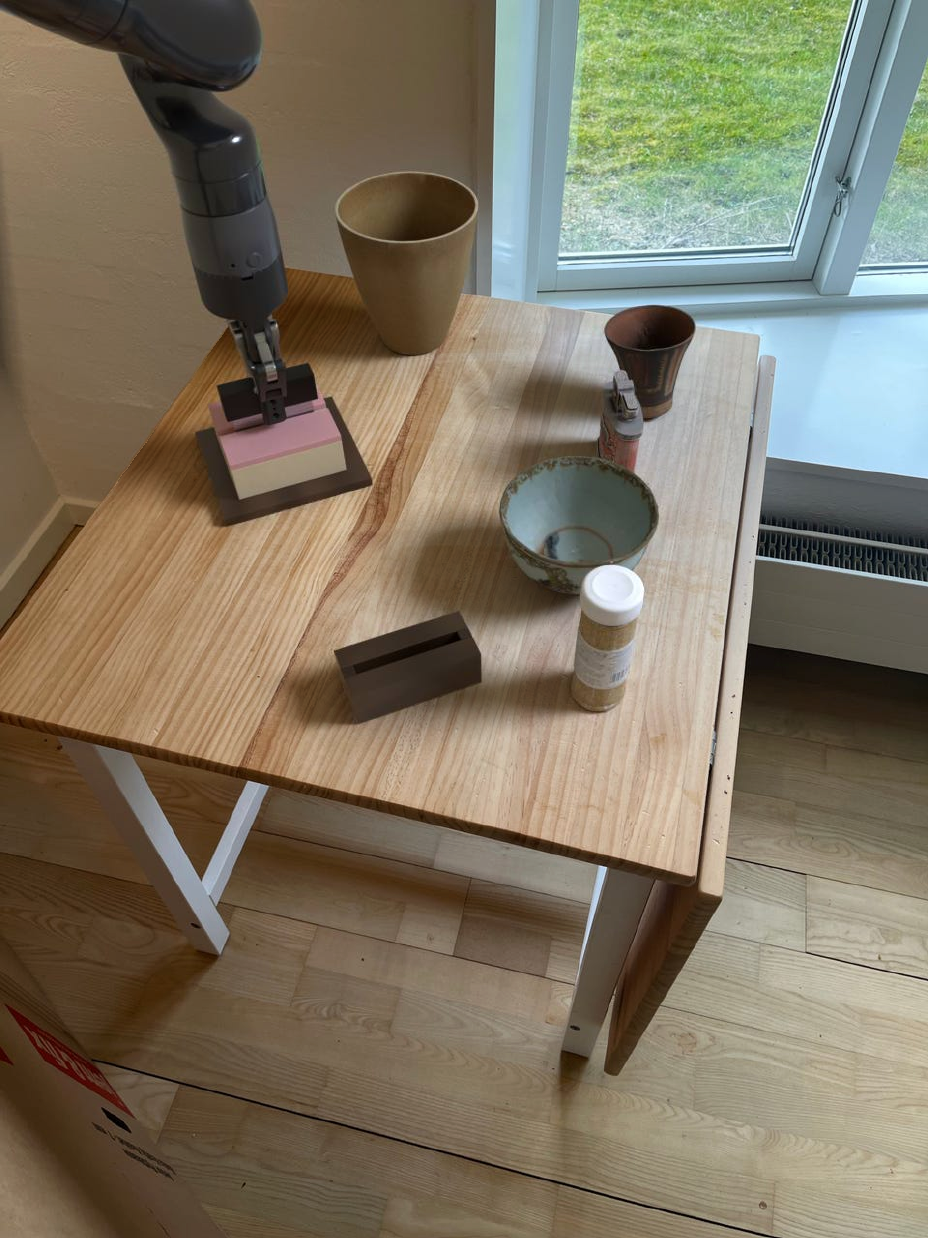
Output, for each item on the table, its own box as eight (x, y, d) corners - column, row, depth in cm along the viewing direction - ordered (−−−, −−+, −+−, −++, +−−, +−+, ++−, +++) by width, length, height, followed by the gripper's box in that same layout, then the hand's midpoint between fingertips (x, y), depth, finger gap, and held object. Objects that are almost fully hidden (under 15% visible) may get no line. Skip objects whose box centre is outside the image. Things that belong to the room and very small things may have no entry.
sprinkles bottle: (606, 661, 81) (623, 554, 70) (635, 701, 78) (657, 596, 68) (559, 681, 80) (569, 575, 69) (587, 722, 77) (602, 618, 66)
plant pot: (453, 386, 105) (447, 252, 92) (331, 360, 108) (309, 227, 96) (497, 312, 113) (497, 180, 101) (382, 290, 117) (369, 160, 104)
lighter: (590, 441, 98) (598, 360, 91) (622, 438, 98) (633, 357, 91) (606, 495, 93) (616, 414, 86) (640, 491, 93) (653, 411, 86)
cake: (239, 500, 93) (229, 465, 89) (229, 471, 95) (218, 436, 92) (346, 470, 95) (341, 435, 92) (333, 442, 98) (327, 407, 94)
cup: (609, 370, 106) (618, 289, 98) (689, 386, 104) (705, 305, 96) (586, 418, 101) (594, 337, 93) (670, 437, 98) (685, 355, 91)
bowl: (541, 648, 82) (545, 587, 76) (474, 545, 89) (473, 483, 83) (676, 594, 85) (690, 532, 79) (600, 500, 93) (607, 437, 87)
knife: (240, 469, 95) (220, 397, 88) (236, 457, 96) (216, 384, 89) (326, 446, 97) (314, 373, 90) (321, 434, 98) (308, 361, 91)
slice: (227, 465, 96) (216, 430, 92) (217, 438, 99) (207, 403, 95) (331, 437, 98) (325, 402, 95) (319, 411, 101) (313, 376, 97)
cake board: (226, 526, 92) (223, 519, 91) (196, 439, 100) (194, 431, 99) (372, 484, 95) (371, 477, 94) (333, 403, 103) (331, 395, 103)
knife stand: (357, 724, 77) (351, 697, 74) (339, 678, 80) (333, 650, 77) (482, 682, 80) (481, 654, 77) (460, 638, 83) (459, 609, 79)
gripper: (175, 218, 82) (219, 382, 96) (207, 300, 74) (251, 467, 88) (259, 200, 84) (291, 364, 97) (300, 279, 76) (329, 446, 89)
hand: (272, 412), depth 92 cm, fingers closed on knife, 2 cm apart
